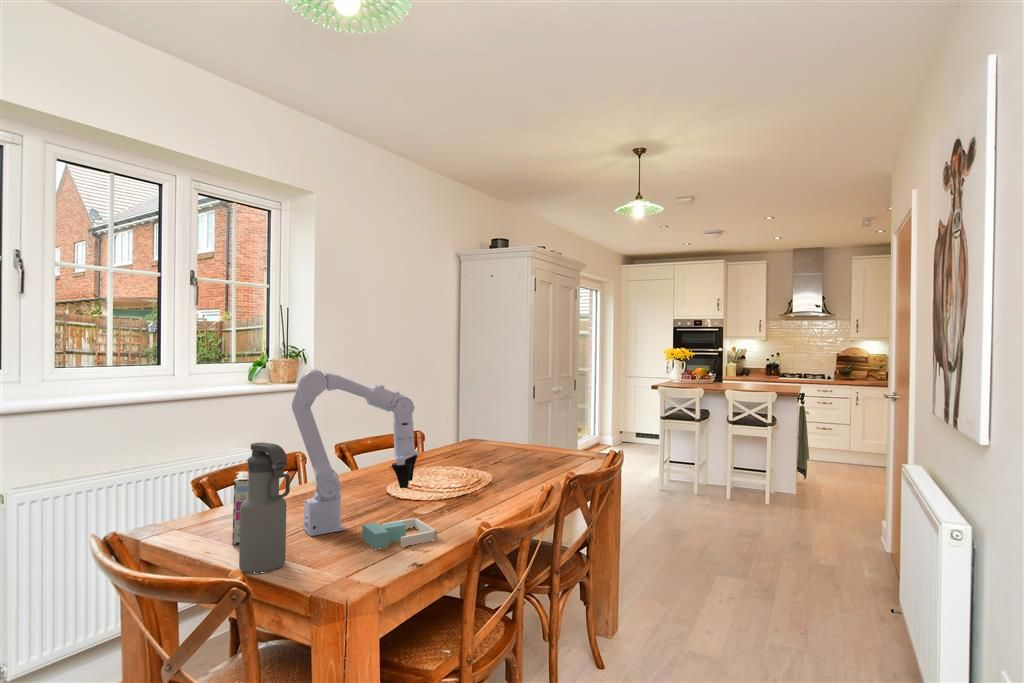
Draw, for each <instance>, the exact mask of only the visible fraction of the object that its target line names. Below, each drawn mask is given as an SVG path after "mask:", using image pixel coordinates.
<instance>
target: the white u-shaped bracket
mask: <svg viewBox="0 0 1024 683" xmlns="http://www.w3.org/2000/svg"><path fill="white" fill-rule="evenodd" d="M398 521H401V522H403V523H404V524H406V530H409V529H408V528H411V529H415V528H416V530H417V529H418V530H419V532H418V533H413V534H408V535H406V536H403V537H401V541H400V546H401V547H403V548H405V547H404V546H408V545H412V546H414V545H413V544H417V543H422V542H427V541H431V542H433V541H432V540H436V541H438V530H437V529H435V528H433V527H432V526H430V525H429V524H427V523H426V522H423V521H422V520H421V519H419V518H417V517H412V518H406V519H402V520H396V521H390V522H385V523H383V524H387V523H393V522H398ZM413 527H415V528H413ZM418 530H417V531H418ZM420 531H421V532H422V533H421V532H420ZM427 543H428V542H427ZM422 544H423V543H422ZM417 545H418V544H417ZM401 547H400V548H401ZM408 547H409V546H408Z"/></svg>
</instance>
